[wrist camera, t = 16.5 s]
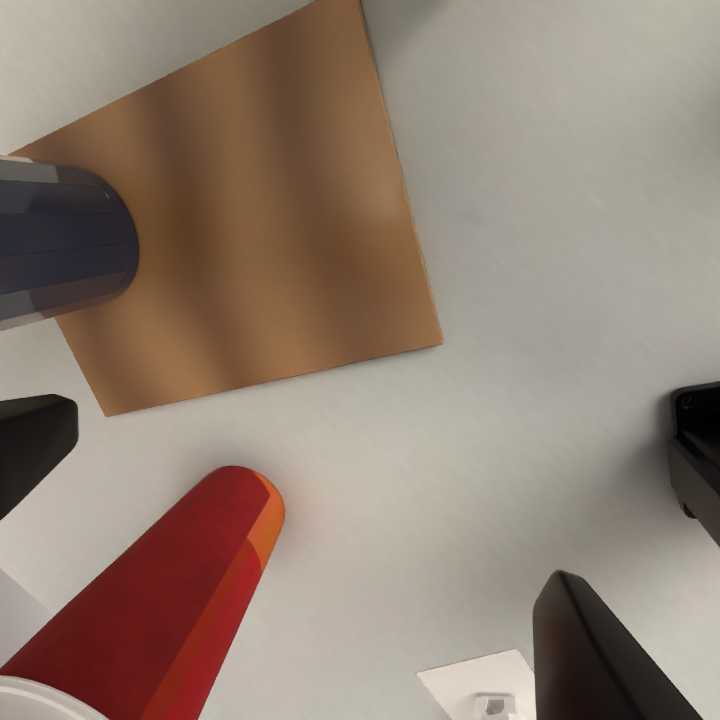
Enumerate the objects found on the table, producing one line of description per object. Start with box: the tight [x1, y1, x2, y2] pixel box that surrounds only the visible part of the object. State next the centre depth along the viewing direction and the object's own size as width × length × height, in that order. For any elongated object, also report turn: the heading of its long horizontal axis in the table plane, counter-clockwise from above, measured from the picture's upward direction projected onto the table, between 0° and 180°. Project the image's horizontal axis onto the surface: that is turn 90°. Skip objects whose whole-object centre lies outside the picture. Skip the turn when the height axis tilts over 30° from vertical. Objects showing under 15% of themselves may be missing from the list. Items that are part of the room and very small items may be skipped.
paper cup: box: [0, 466, 285, 720], centre depth 19 cm, size 8×8×14 cm
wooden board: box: [7, 0, 443, 417], centre depth 20 cm, size 20×14×1 cm
